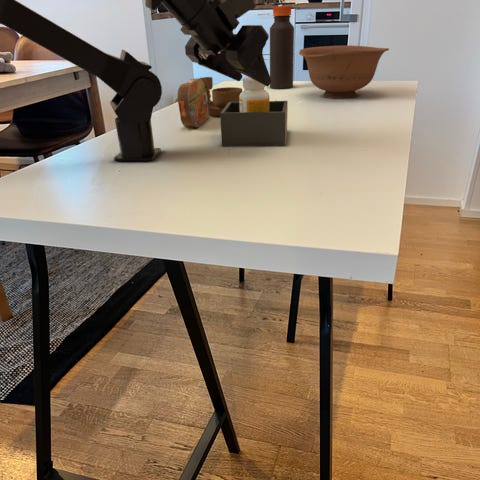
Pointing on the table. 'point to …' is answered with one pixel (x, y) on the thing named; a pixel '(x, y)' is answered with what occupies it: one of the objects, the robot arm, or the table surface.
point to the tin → (193, 102)
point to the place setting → (221, 97)
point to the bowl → (342, 68)
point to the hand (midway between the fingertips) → (254, 81)
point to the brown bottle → (281, 48)
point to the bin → (254, 125)
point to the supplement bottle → (253, 97)
